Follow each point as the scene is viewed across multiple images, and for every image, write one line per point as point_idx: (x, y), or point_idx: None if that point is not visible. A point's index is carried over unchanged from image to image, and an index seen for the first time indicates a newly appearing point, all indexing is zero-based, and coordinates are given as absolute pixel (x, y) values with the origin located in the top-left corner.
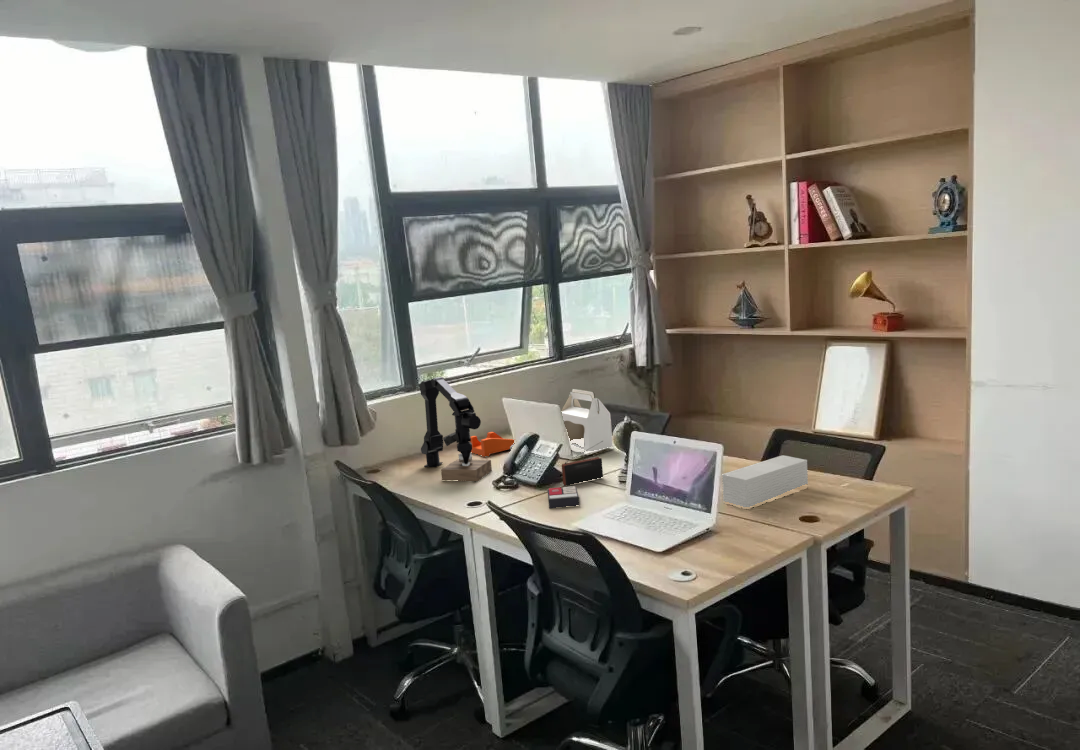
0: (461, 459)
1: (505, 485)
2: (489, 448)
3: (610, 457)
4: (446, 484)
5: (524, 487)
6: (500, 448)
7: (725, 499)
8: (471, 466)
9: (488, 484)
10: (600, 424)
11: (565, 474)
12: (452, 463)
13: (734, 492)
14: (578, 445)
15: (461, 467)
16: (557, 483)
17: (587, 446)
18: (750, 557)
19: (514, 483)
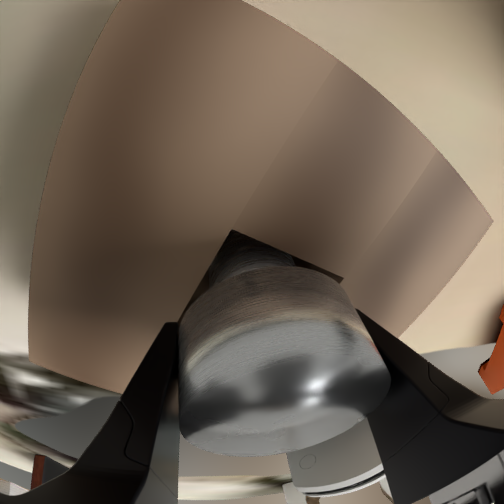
0: (193, 340)
1: (13, 384)
2: None
3: (248, 495)
4: (32, 65)
5: (7, 411)
6: (498, 356)
7: (8, 485)
8: (148, 347)
9: (14, 340)
10: None
11: (32, 479)
12: (406, 152)
13: (3, 492)
14: None
15: (133, 260)
16: (55, 454)
17: (293, 500)
18: None
19: (41, 406)
